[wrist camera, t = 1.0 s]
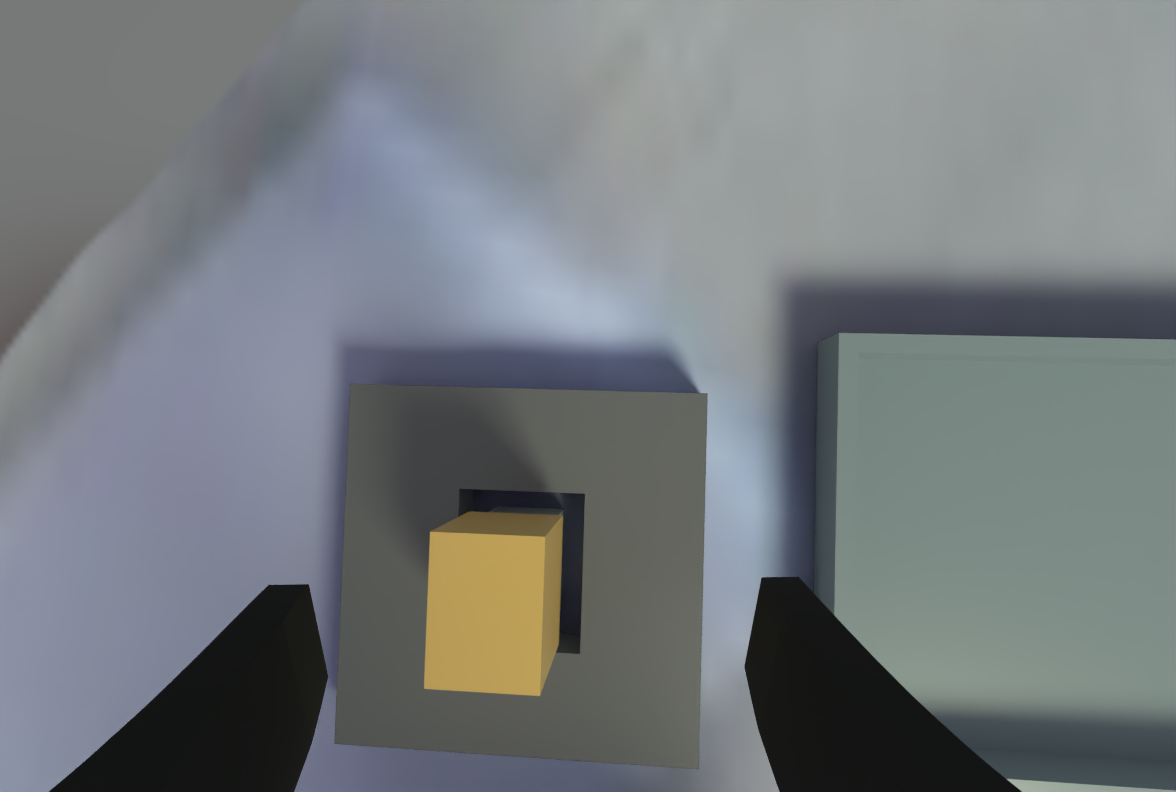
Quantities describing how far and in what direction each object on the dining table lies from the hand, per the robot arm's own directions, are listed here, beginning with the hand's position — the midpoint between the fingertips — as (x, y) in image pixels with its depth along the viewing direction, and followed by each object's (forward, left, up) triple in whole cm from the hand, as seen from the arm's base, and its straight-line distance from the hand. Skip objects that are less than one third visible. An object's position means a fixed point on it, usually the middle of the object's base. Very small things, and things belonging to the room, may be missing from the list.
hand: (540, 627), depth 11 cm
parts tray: (-1, -16, -13) cm, 20 cm away
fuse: (-2, +2, -13) cm, 13 cm away
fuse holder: (-2, +2, -13) cm, 13 cm away
